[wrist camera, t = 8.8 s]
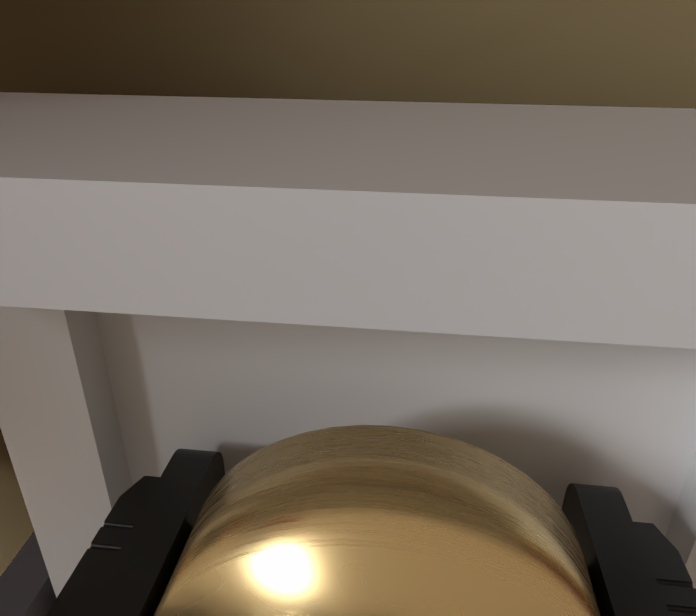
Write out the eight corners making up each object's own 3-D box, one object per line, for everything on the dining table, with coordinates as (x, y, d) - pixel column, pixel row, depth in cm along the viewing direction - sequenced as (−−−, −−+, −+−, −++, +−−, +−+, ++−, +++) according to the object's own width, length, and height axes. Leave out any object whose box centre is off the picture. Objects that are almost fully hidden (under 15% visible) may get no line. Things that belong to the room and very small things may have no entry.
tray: (-89, 90, 9) (-483, 158, 5) (1004, 116, 8) (1629, 239, 4) (86, 652, 16) (-30, 875, 12) (702, 727, 14) (811, 1015, 10)
